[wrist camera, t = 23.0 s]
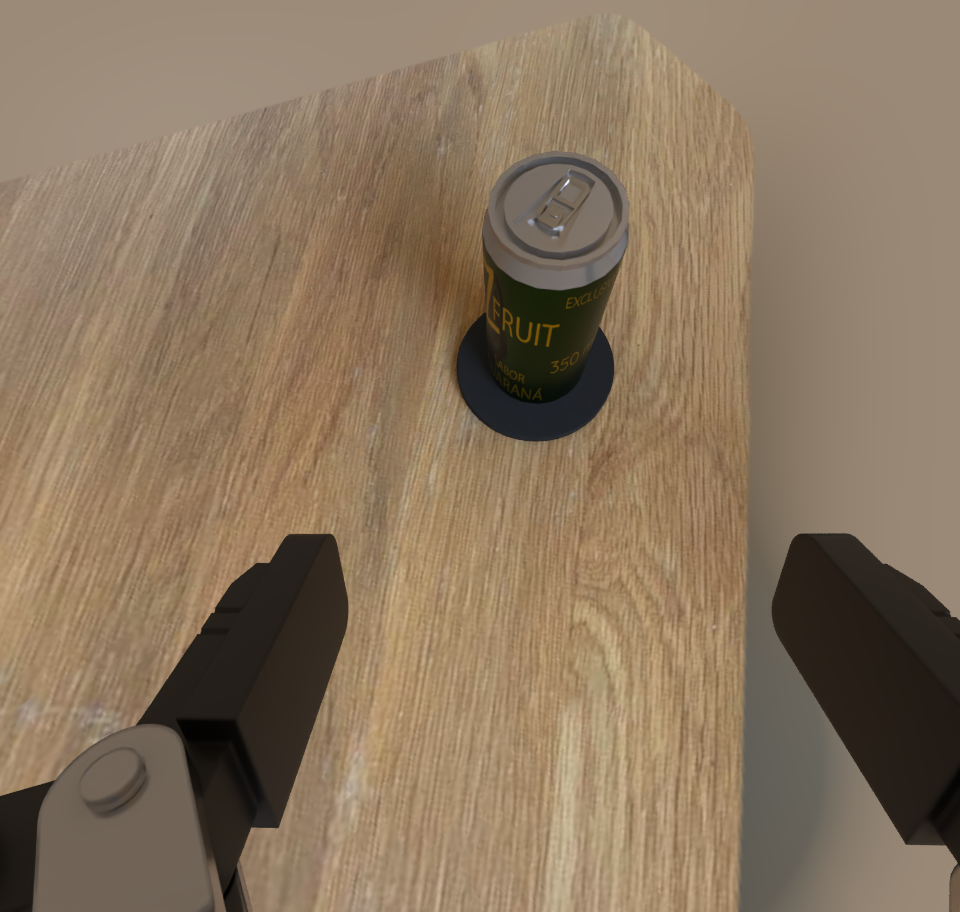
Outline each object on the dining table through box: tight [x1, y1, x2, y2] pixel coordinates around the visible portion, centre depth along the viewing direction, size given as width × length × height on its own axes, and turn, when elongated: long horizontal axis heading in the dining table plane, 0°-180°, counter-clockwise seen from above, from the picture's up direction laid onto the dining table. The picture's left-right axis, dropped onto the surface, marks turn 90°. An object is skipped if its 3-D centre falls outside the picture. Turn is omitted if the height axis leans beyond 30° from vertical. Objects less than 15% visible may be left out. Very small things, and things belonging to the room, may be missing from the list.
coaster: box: [457, 312, 614, 441], centre depth 30 cm, size 9×9×1 cm
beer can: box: [482, 151, 630, 404], centre depth 24 cm, size 5×5×12 cm
